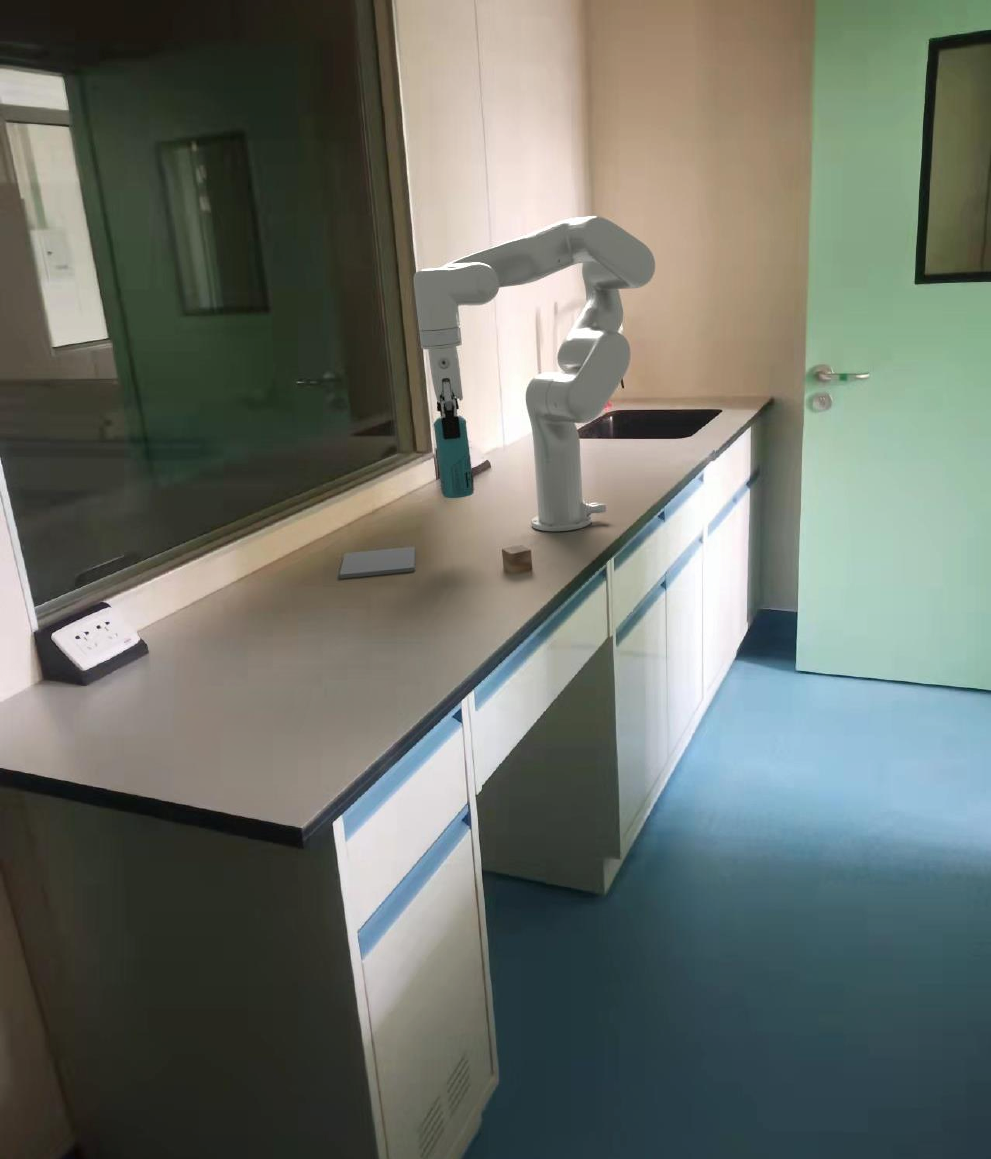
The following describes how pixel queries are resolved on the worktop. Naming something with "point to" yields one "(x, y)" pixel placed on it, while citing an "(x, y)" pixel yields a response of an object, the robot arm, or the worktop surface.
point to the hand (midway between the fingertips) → (451, 434)
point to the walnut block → (517, 559)
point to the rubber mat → (378, 562)
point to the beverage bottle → (454, 460)
